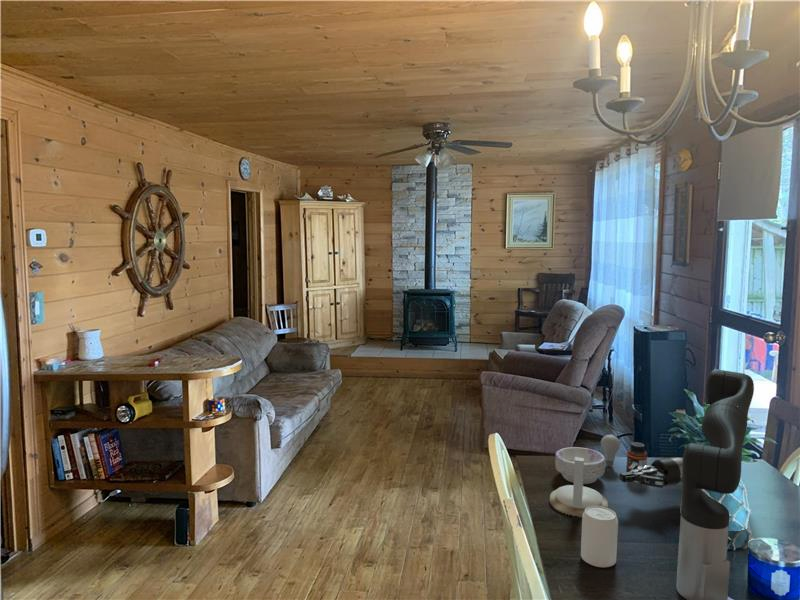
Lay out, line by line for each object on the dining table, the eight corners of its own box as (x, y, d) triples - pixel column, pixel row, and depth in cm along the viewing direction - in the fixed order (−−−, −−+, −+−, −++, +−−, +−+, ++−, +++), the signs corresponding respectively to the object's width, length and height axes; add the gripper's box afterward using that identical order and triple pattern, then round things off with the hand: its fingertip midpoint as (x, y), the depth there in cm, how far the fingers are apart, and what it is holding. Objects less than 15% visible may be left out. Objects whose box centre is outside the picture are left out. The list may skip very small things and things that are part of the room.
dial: (601, 513, 159) (604, 464, 158) (553, 505, 164) (554, 457, 162) (602, 492, 172) (604, 446, 171) (557, 486, 177) (559, 441, 175)
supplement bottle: (621, 476, 188) (623, 442, 187) (635, 472, 191) (637, 439, 190) (636, 483, 183) (638, 448, 182) (650, 479, 186) (652, 445, 184)
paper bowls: (546, 471, 192) (546, 448, 191) (586, 466, 196) (587, 444, 195) (571, 491, 177) (572, 466, 176) (614, 485, 181) (615, 461, 180)
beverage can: (588, 547, 146) (590, 501, 144) (620, 558, 141) (623, 511, 139) (575, 561, 139) (577, 513, 138) (608, 573, 134) (611, 524, 133)
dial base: (619, 514, 163) (619, 508, 163) (568, 520, 159) (568, 515, 159) (587, 489, 178) (587, 484, 178) (540, 495, 174) (540, 490, 174)
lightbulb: (620, 471, 192) (621, 439, 191) (601, 469, 194) (602, 437, 192) (617, 463, 198) (618, 432, 197) (598, 462, 199) (599, 431, 198)
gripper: (658, 450, 175) (607, 456, 171) (690, 468, 163) (636, 474, 158) (656, 474, 176) (606, 480, 172) (688, 493, 164) (635, 500, 159)
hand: (621, 477), depth 165 cm, fingers closed
